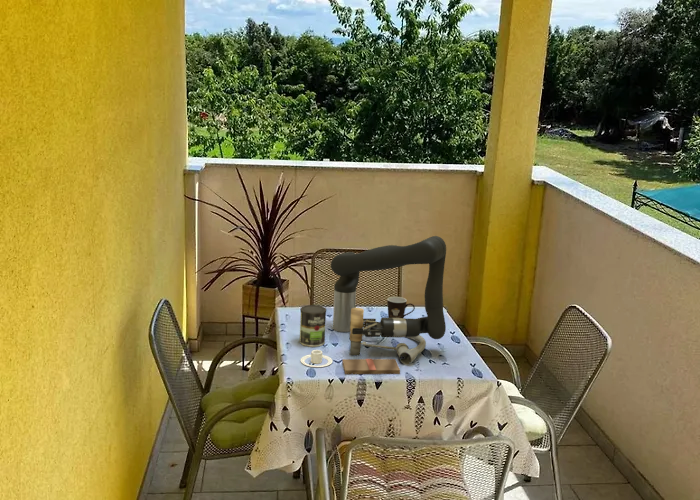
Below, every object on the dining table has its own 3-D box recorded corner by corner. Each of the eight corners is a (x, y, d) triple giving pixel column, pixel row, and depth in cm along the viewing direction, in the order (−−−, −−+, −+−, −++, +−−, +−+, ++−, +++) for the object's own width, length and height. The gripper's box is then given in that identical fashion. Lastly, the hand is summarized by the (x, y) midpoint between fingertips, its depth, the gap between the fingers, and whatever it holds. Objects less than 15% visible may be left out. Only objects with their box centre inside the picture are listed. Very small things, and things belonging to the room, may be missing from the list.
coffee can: (328, 345, 266) (330, 312, 263) (304, 348, 263) (305, 314, 259) (320, 336, 276) (321, 303, 272) (296, 338, 272) (297, 305, 268)
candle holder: (300, 355, 256) (301, 345, 255) (331, 356, 257) (332, 345, 256) (300, 368, 244) (300, 357, 243) (333, 369, 245) (333, 358, 244)
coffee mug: (382, 321, 297) (383, 299, 294) (392, 316, 304) (393, 295, 301) (404, 327, 290) (406, 305, 288) (414, 322, 297) (416, 301, 295)
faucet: (348, 355, 265) (382, 335, 287) (411, 365, 250) (442, 343, 273) (347, 343, 264) (382, 324, 287) (411, 353, 249) (442, 332, 272)
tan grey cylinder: (353, 350, 263) (355, 306, 258) (363, 353, 260) (366, 309, 256) (346, 354, 259) (348, 309, 254) (357, 357, 256) (359, 312, 252)
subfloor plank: (345, 374, 241) (345, 369, 240) (342, 363, 250) (342, 358, 250) (399, 373, 243) (400, 369, 243) (394, 362, 253) (395, 358, 252)
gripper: (390, 312, 265) (349, 312, 263) (397, 324, 251) (353, 324, 249) (389, 330, 266) (348, 330, 264) (396, 343, 253) (352, 343, 251)
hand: (351, 327), depth 257 cm, fingers open, 7 cm apart
